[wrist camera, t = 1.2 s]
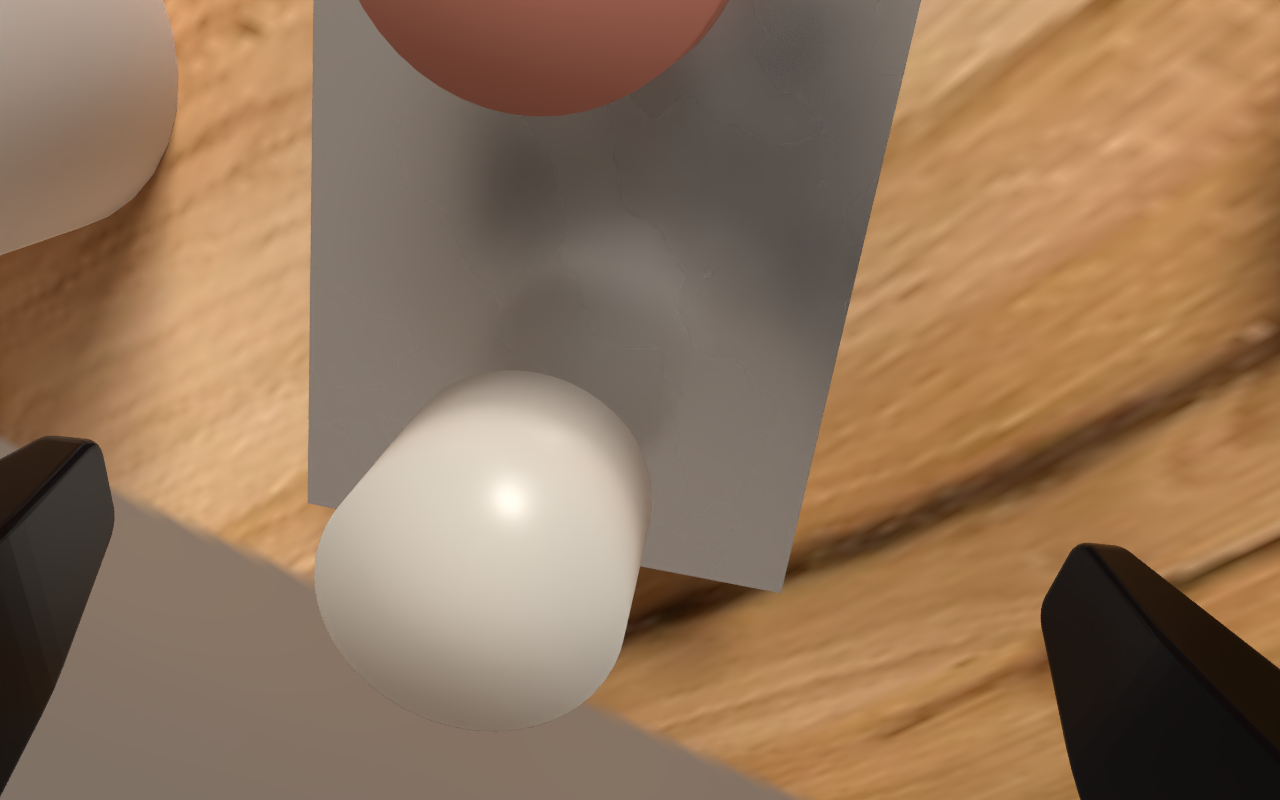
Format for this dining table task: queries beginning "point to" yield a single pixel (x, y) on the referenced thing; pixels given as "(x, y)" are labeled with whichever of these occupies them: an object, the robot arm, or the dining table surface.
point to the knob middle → (542, 47)
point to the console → (609, 257)
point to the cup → (80, 111)
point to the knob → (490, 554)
